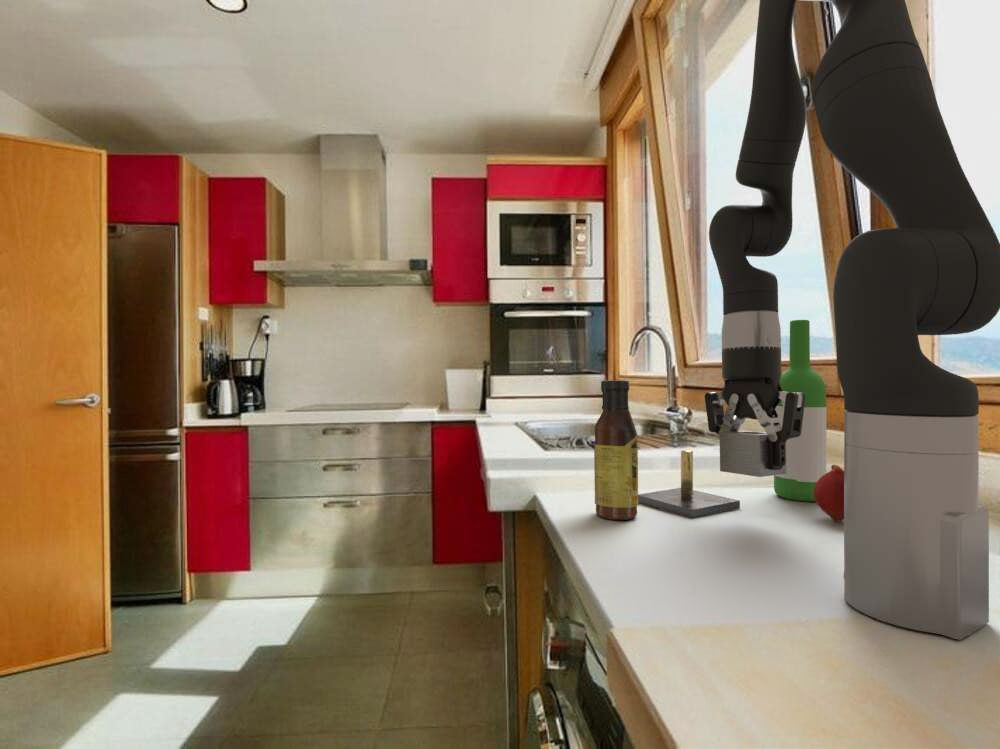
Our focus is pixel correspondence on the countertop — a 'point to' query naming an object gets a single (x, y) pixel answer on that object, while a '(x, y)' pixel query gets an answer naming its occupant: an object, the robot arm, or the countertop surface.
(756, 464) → the collar
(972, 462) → the robot arm
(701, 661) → the countertop surface
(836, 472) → the onion
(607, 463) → the sauce bottle
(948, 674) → the countertop surface
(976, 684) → the countertop surface
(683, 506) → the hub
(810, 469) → the wine bottle
